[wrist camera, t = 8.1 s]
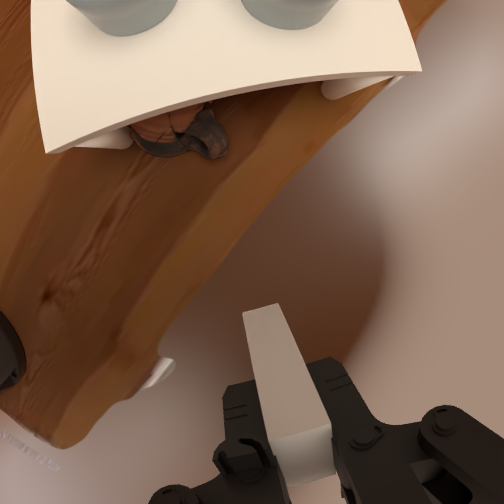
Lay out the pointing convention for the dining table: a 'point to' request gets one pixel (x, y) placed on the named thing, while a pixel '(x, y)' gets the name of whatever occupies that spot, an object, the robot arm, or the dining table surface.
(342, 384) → the robot arm
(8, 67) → the dining table surface
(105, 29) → the grey domed cylinder
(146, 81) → the side counter
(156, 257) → the dining table surface
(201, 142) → the pottery mug
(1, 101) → the dining table surface
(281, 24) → the tumbler
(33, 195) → the dining table surface
